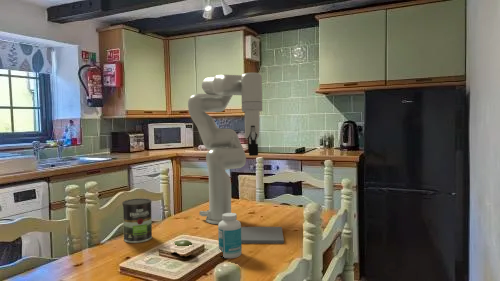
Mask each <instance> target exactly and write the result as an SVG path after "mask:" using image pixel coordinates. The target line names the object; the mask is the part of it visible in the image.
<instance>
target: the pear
mask: <svg viewBox="0 0 500 281" xmlns="http://www.w3.org/2000/svg"><path fill="white" fill-rule="evenodd" d="M173 242H174V243H175V245H177V246H189V245H192V244H193V243H192V241H191V240H187V239H181V240H174V241H173Z"/></svg>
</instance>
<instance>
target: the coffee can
mask: <svg viewBox="0 0 500 281" xmlns="http://www.w3.org/2000/svg"><path fill="white" fill-rule="evenodd" d="M122 215H123V216H122V218H123V219H122V221H123V222H122V223H123V241H124V242H126V243H128V244H129V243H130V244H141V243H145V242H148V241H150V240H151V239H152V238H153V236H152V234H153V233H152V232H153V230H152V229H153V228H152V222H153V221H152V200H151V199H149V198H133V199H132V198H131V199H126V200H124V201H122Z"/></svg>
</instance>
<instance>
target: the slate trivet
mask: <svg viewBox="0 0 500 281" xmlns="http://www.w3.org/2000/svg"><path fill="white" fill-rule="evenodd" d="M284 243H285V239H284V233H283V227H282V226H241V245H242V244H244V245H245V244H246V245H247V244H251V245H252V244H254V245H255V244H256V245H257V244H259V245H261V244H265V245H266V244H269V245H271V244H272V245H273V244H278V245H279V244H280V245H282V244H284Z"/></svg>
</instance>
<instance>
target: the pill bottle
mask: <svg viewBox="0 0 500 281" xmlns="http://www.w3.org/2000/svg"><path fill="white" fill-rule="evenodd" d="M237 217H238V216H237V213H236V212H231V213H224V214H223V215H222V219H223V220H222V221H221V222H219V224H217V225H218V226H217V227H218V228H217V229H218V230H217V231H218V234H217V235H218V250H219V249H220V250H221V251H222V252H223V257H224V258H223V257H222V258H223V259H229V260H231V259H236V258H238V257H240V256H241V255H242V252H243V251H242V244H241V227H242V224H241V221H239V220H238V218H237Z"/></svg>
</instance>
